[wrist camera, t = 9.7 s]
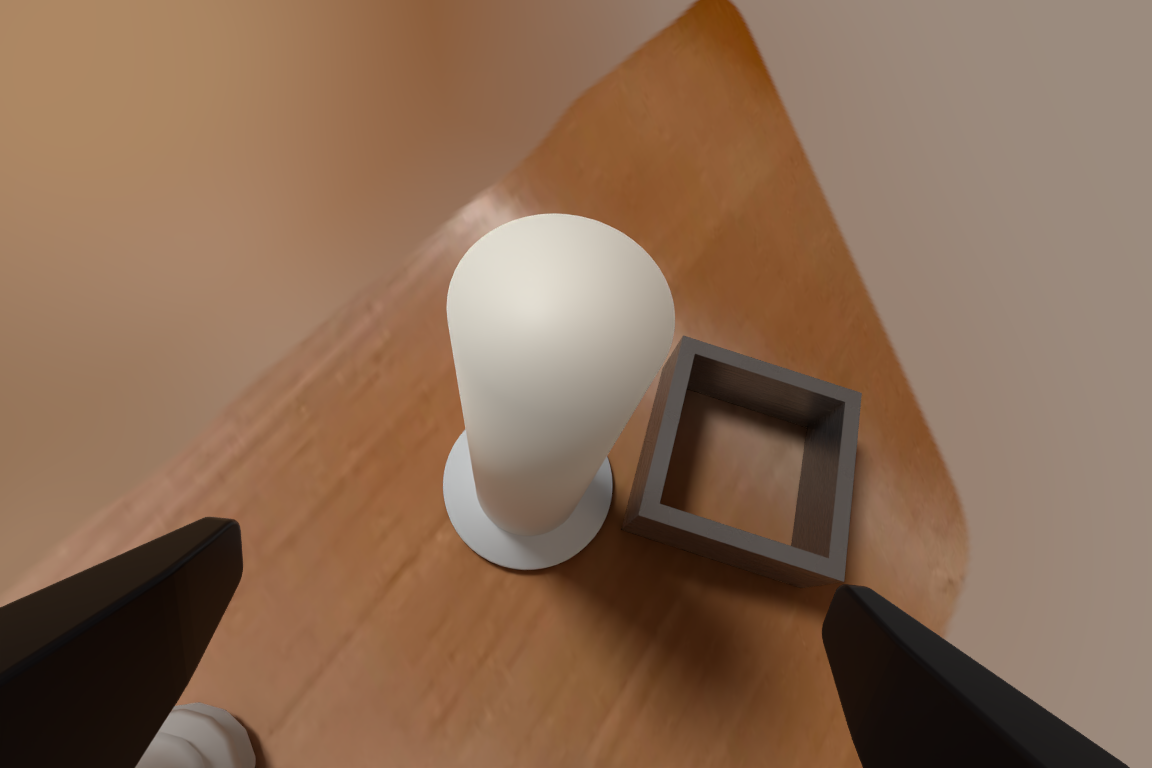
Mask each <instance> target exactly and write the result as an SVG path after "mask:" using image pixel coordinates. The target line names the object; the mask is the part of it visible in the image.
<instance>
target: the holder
mask: <svg viewBox="0 0 1152 768" xmlns="http://www.w3.org/2000/svg"><path fill="white" fill-rule="evenodd" d="M686 389H689V390H692V391H696V392H699V393H702V394H705V395H708V396H711V397H714V398H717V399H720V400H723V401H727V402H730V403H733V404H736V405H739V406H742V407H745V408H748V409H751V410H754V411H757V412H761V413H764V414H767V415H770V416H773V417H776V418H779V419H782V420H785V421H788V422H792V423H795V424H798V425H801V426H804V427H807V432H806V439H805V447H804V454H803V462H802V469H801V477H800V484H799V492H798V499H797V507H796V514H795V522H794V529H793V537H792V544H791V546H789V545H786V544H783V543H780V542H777V541H773V540H770V539H767V538H764V537H761V536H758V535H755V534H752V533H749V532H746V531H743V530H740V529H736V528H733V527H730V526H727V525H724V524H721V523H718V522H715V521H712V520H709V519H706V518H702V517H699V516H696V515H693V514H690V513H687V512H684V511H681V510H678V509H675V508H672V507H669V506H665V505H662V504H660V500H661V496H662V491H663V487H664V483H665V479H666V474H667V470H668V466H669V462H670V457H671V453H672V449H673V445H674V440H675V436H676V432H677V427H678V423H679V419H680V415H681V410H682V406H683V402H684V398H685V393H686ZM861 395H862V393H860V392H857V391H854V390H850V389H847V388H844V387H841V386H838V385H835V384H832V383H829V382H826V381H823V380H820V379H816V378H813V377H810V376H807V375H804V374H801V373H798V372H795V371H792V370H789V369H785V368H782V367H779V366H776V365H773V364H770V363H767V362H764V361H761V360H758V359H754V358H751V357H748V356H745V355H742V354H739V353H736V352H733V351H730V350H727V349H723V348H720V347H717V346H714V345H711V344H708V343H705V342H702V341H699V340H696V339H692V338H689V337H686V336H683V337H682V338H681V340H680V341H679V343H678V345H677V346H676V348H675V349H674V351H673V353H672V354H671V356H670V357H669V359H668V361H667V362H666V364H665V366H664V367H663V370H662V374H661V378H660V381H659V385H658V389H657V393H656V397H655V401H654V405H653V409H652V412H651V416H650V420H649V424H648V428H647V432H646V436H645V439H644V443H643V447H642V451H641V455H640V459H639V463H638V467H637V470H636V474H635V478H634V482H633V486H632V490H631V494H630V498H629V501H628V505H627V509H626V513H625V517H624V521H623V525H622V528H621V530H624V531H627V532H630V533H633V534H636V535H639V536H642V537H645V538H648V539H651V540H654V541H657V542H661V543H664V544H667V545H670V546H673V547H676V548H679V549H682V550H685V551H688V552H691V553H694V554H698V555H701V556H704V557H707V558H710V559H713V560H716V561H719V562H722V563H725V564H728V565H731V566H735V567H738V568H741V569H744V570H747V571H750V572H753V573H756V574H759V575H762V576H765V577H768V578H771V579H775V580H778V581H781V582H784V583H787V584H790V585H793V586H796V587H799V588H806V587H813V586H819V585H826V584H833V583H840V582H844V577H845V567H846V556H847V545H848V534H849V524H850V513H851V502H852V491H853V481H854V470H855V459H856V448H857V438H858V427H859V416H860V405H861Z"/></svg>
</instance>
